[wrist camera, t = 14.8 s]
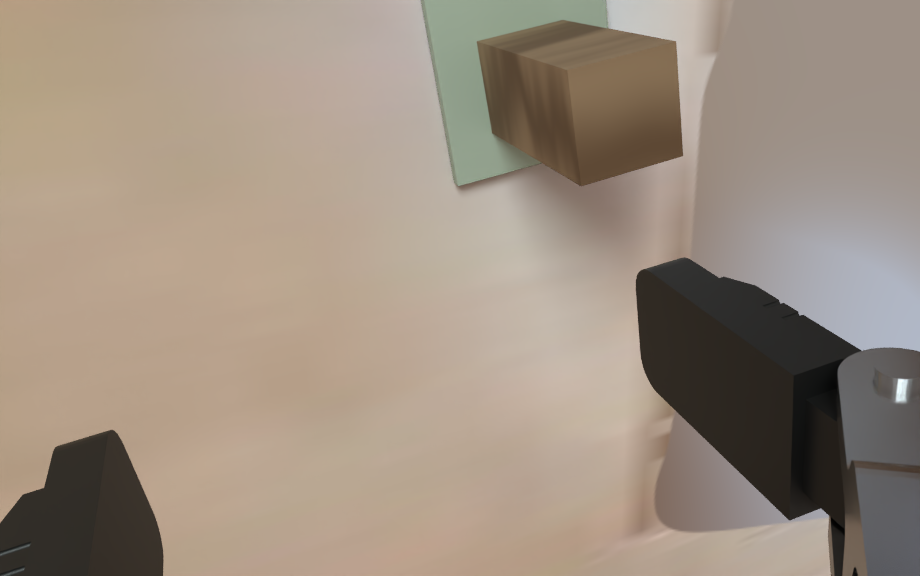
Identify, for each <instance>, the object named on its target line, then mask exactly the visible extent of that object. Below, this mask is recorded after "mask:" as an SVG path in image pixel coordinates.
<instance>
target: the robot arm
mask: <svg viewBox="0 0 920 576" xmlns="http://www.w3.org/2000/svg"><path fill="white" fill-rule="evenodd" d="M636 296H637V310H638V324H639V338H640V352H641V360H642V364H643V368H644V371H645V373H646V376H647V378H648V380H649V382H650V384H651V385H652V387H653V388H654V390H655V391H656V392H657V393H658V394H659V395H660V396H661V397H662V398H663V399H664V400H665V401H666V402H667V403H668V404H669V405H670V406H671V407H672V408H674V409H675V410H676V411H677V412H678V413H679V414H680V415H681V416H682V417H683V418H684V419H685V420H686V421H687V422H688V423H689V424H690V425H691V426H692V427H693V428H694V429H695V430H696V431H697V432H698V433H699V434H700V435H701V436H702V437H704V438H705V439H706V440H707V441H708V442H709V443H710V444H711V445H712V446H713V447H714V448H715V449H716V450H717V451H718V452H719V453H720V454H721V455H722V456H723V457H724V458H725V459H726V460H727V461H728V462H729V463H731V465H733V466H734V467H735V468H736V469H737V470H738V471H739V472H740V473H741V474H742V475H743V476H744V477H745V478H746V479H747V480H748V481H749V482H750V483H751V484H752V485H753V486H754V487H755V488H756V489H757V490H759V492H761V493H762V494H763V495H764V496H765V497H766V498H767V499H768V500H769V501H770V502H771V503H772V504H773V505H774V506H775V507H776V508H777V509H778V510H779V511H780V512H781V513H782V514H783V515H784V516H785V517H786V518H787V519H788V520H792V519H794V518H796V517H799V516H802V515H805V514H807V513H809V512H812V511H814V510H817V509H820V508H822V509H823V510H824V511H825V512H826V513H827V514H828V515H829V529H828V542H829V557H830V572H831V576H920V352H918V351H914V350H909V349H902V348H875V349H869V350H864V351H861V350H860V349H858V348H856V347H855V346H853V345H851V344H850V343H848V342H847V341H845V340H843V339H842V338H840V337H838V336H837V335H835V334H834V333H832V332H830V331H829V330H827V329H825V328H824V327H822V326H820V325H819V324H817V323H816V322H814V321H812V320H811V319H809V318H807V317H806V316H804V315H801V316H799V314H798V311H796V310H794V309H793V308H791V307H790V306H788V305H786V304H785V303H782V304H780V302H779V300H778V299H776V298H775V297H773V296H772V295H770V294H768V293H767V292H765V291H763V290H762V289H760V288H759V287H757V286H755V285H751V284H748V283H744V282H741V281H737V280H734V279H730V278H726V277H722V278H718V277H717V276H715V275H714V274H712V273H711V272H709V271H707V270H706V269H704V268H703V267H701V266H700V265H698V264H696V263H695V262H693V261H692V260H690V259H688V258H680V259H677V260H673V261H670V262H667V263H663V264H660V265H657V266H654V267H650V268H647V269H644V270H641V271H640V272H639V273H638V275H637V279H636ZM0 576H163V547H162V541H161V536H160V532H159V528H158V525H157V521H156V518H155V516H154V513H153V511H152V509H151V506H150V504H149V502H148V499H147V497H146V495H145V493H144V490H143V488H142V486H141V484H140V481H139V479H138V477H137V474H136V472H135V470H134V468H133V465H132V463H131V461H130V459H129V456H128V454H127V452H126V449H125V447H124V445H123V443H122V441H121V439H120V437H119V436H118V434H117V433H116V432H115V431H114V430H109V431H106V432H103V433H99V434H96V435H93V436H89V437H86V438H83V439H79V440H76V441H73V442H70V443H66V444H63V445H60V446H57V447H55V449H54V451H53V454H52V458H51V463H50V467H49V471H48V475H47V479H46V483H45V487H44V488H43V489H39V490H36V491H33V492H30V493H27V494H23V495H22V497H21V498H20V499H19V500H18V502H17V503H16V504H15V505H14V507H13V508H12V509H11V510H10V512H9V513H8V514H7V515H6V517H5V518H4V519H3V520H2V522H1V523H0Z"/></svg>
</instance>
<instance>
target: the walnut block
mask: <svg viewBox="0 0 920 576" xmlns="http://www.w3.org/2000/svg"><path fill="white" fill-rule="evenodd" d="M477 47H478V53H479V59H480V65H481V71H482V77H483V83H484V89H485V94H486V100H487V106H488V112H489V118H490V124H491V130H492V134H494V135H496V136H497V137H499V138H501V139H502V140H504V141H506V142H508V143H509V144H511V145H513V146H514V147H516V148H518V149H519V150H521V151H523V152H524V153H526V154H528V155H529V156H531V157H533V158H535V159H536V160H538V161H540V162H541V163H543V164H545V165H546V166H548V167H550V168H551V169H553V170H555V171H556V172H558V173H560V174H562V175H563V176H565V177H567V178H568V179H570V180H572V181H573V182H575V183H577V184H578V185H580V186H584V185H587V184H590V183H594V182H597V181H600V180H604V179H607V178H610V177H614V176H617V175H621V174H624V173H627V172H631V171H634V170H637V169H641V168H644V167H647V166H651V165H654V164H658V163H661V162H664V161H668V160H671V159H674V158H678V157H681V156H683V149H682V132H681V116H680V99H679V82H678V66H677V49H676V41H671V40H665V39H660V38H655V37H650V36H645V35H639V34H634V33H629V32H624V31H618V30H613V29H608V28H603V27H598V26H592V25H587V24H582V23H577V22H571V21H566V20H560V21H556V22H552V23H548V24H544V25H540V26H536V27H532V28H528V29H524V30H520V31H516V32H512V33H508V34H504V35H500V36H496V37H492V38H488V39H484V40H480V41H477Z"/></svg>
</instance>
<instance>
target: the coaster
mask: <svg viewBox="0 0 920 576" xmlns="http://www.w3.org/2000/svg"><path fill="white" fill-rule="evenodd" d="M421 4H422V10H423V15H424V20H425V26H426V31H427V37H428V42H429V48H430V53H431V59H432V64H433V69H434V75H435V80H436V86H437V91H438V97H439V102H440V108H441V113H442V118H443V124H444V129H445V135H446V140H447V146H448V151H449V157H450V162H451V167H452V173H453V178H454V183H455V184H456V185H457V186H461V185H464V184H468V183H472V182H475V181H479V180H482V179H486V178H490V177H493V176H497V175H501V174H504V173H508V172H512V171H515V170H519V169H522V168H526V167H530V166H533V165H537V164H541V162H540V161H538V160H536V159H535V158H533V157H531V156H529V155H528V154H526V153H524V152H523V151H521V150H519V149H518V148H516V147H514V146H513V145H511V144H509V143H508V142H506V141H504V140H502V139H501V138H499V137H497V136H496V135H494V134H492V130H491V124H490V118H489V112H488V106H487V100H486V94H485V89H484V83H483V77H482V71H481V65H480V59H479V53H478V47H477V41H480V40H484V39H488V38H492V37H496V36H500V35H504V34H508V33H512V32H516V31H520V30H524V29H528V28H532V27H536V26H540V25H544V24H548V23H552V22H556V21H560V20H566V21H571V22H577V23H582V24H587V25H592V26H598V27H603V28H608V22H607V10H606V0H421Z"/></svg>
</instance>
